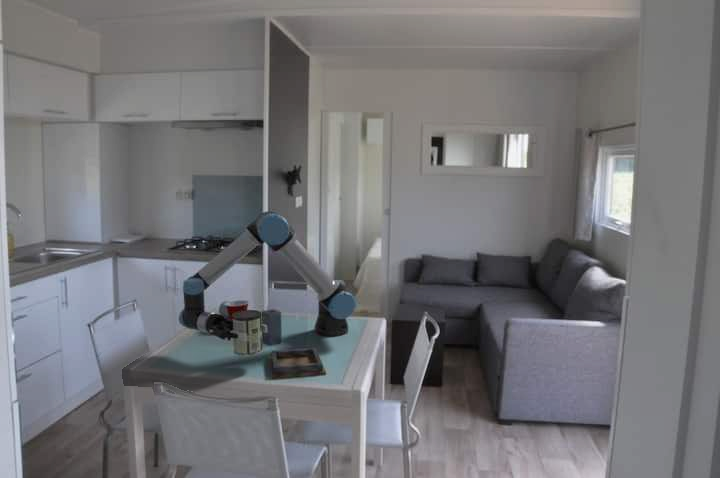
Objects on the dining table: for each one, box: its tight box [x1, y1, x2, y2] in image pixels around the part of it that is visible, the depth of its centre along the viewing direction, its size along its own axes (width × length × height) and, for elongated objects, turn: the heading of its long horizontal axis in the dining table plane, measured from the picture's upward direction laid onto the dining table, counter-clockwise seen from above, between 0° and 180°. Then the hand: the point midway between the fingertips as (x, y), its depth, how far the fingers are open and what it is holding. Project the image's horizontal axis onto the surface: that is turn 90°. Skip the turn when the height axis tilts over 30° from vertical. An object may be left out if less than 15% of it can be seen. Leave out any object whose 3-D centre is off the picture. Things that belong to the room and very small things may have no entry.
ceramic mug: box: [218, 300, 230, 319], centre depth 255 cm, size 11×8×8 cm
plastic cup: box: [225, 299, 250, 320], centre depth 237 cm, size 11×11×12 cm
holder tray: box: [268, 347, 327, 380], centre depth 193 cm, size 19×19×4 cm
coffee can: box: [232, 309, 264, 357], centre depth 189 cm, size 10×10×14 cm
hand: (256, 333), depth 187 cm, fingers closed on coffee can, 10 cm apart
